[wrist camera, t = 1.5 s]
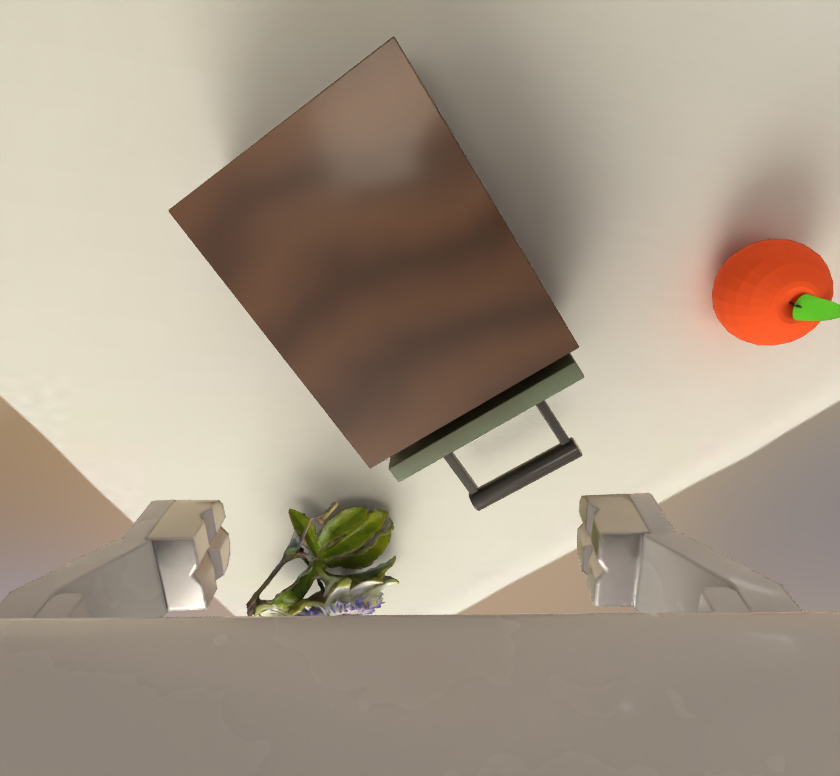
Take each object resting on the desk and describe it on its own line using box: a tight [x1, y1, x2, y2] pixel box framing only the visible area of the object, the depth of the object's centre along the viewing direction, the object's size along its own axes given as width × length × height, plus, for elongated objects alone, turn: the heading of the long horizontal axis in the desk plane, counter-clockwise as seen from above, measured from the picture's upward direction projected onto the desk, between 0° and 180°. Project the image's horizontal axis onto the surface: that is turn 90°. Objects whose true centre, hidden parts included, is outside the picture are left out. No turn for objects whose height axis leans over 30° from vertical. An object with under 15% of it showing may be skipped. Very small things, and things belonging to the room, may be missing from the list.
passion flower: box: [246, 502, 399, 616], centre depth 50 cm, size 11×11×12 cm
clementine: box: [712, 239, 840, 345], centre depth 40 cm, size 8×7×7 cm
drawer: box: [389, 353, 584, 511], centre depth 40 cm, size 23×13×9 cm, turn 34°
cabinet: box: [169, 37, 579, 468], centre depth 39 cm, size 19×15×11 cm
